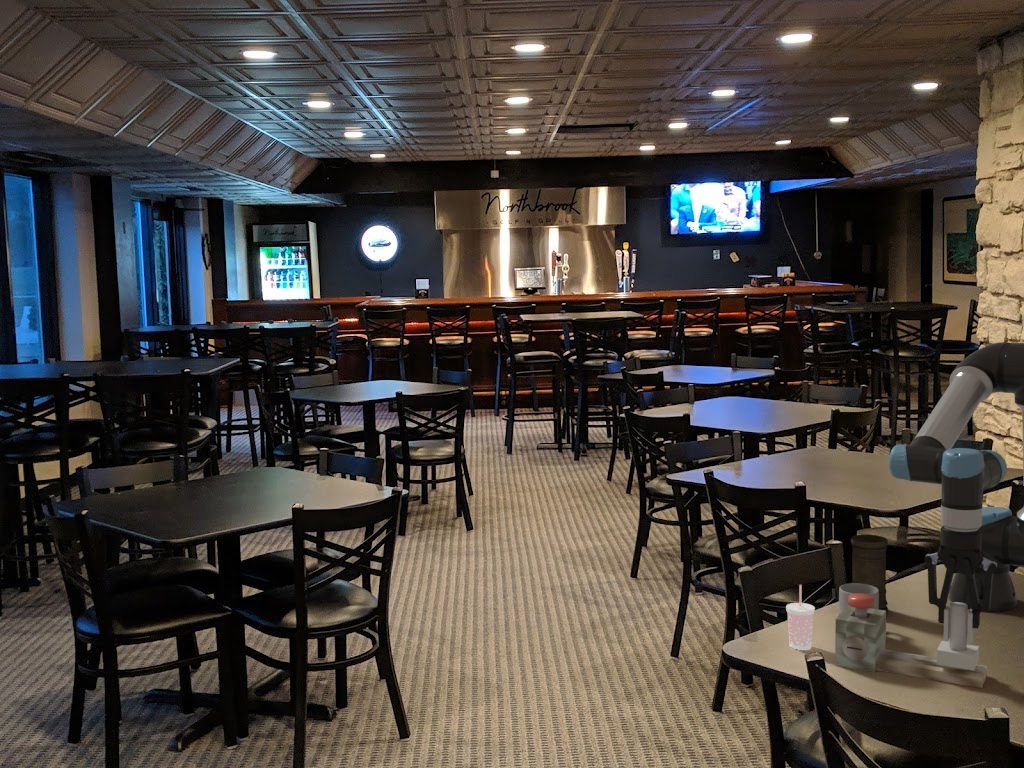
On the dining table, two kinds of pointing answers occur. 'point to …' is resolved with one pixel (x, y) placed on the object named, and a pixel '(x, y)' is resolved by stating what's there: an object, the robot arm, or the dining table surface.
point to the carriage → (958, 641)
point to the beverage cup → (800, 623)
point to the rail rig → (890, 652)
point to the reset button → (861, 603)
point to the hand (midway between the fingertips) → (958, 640)
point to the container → (870, 564)
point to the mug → (857, 588)
